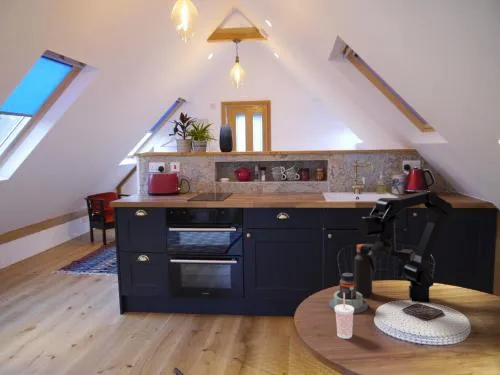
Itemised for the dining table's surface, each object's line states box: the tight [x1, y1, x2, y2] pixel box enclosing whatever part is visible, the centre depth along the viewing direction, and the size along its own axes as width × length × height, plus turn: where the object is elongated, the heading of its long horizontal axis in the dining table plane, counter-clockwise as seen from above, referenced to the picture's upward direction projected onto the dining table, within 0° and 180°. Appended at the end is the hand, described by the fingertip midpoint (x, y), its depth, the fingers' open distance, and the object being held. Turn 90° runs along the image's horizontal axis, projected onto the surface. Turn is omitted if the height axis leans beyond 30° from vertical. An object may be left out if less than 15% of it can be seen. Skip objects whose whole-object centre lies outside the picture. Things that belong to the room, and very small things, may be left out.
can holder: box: [328, 290, 368, 315], centre depth 148 cm, size 14×14×4 cm
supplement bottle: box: [339, 272, 356, 300], centre depth 147 cm, size 6×6×11 cm
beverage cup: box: [334, 293, 354, 339], centre depth 125 cm, size 6×6×14 cm
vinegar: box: [353, 243, 373, 298], centre depth 157 cm, size 7×7×20 cm
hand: (386, 274), depth 145 cm, fingers open, 9 cm apart
